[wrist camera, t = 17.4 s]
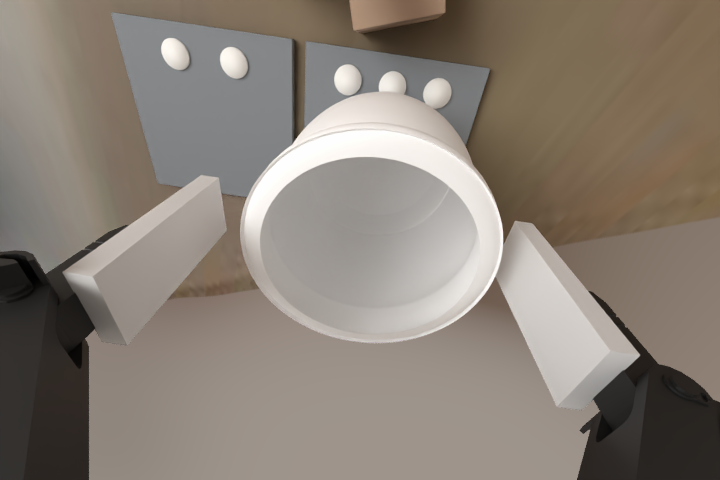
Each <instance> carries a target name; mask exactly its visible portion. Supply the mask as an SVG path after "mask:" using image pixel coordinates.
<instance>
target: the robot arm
mask: <svg viewBox="0 0 720 480" xmlns="http://www.w3.org/2000/svg"><path fill="white" fill-rule="evenodd" d="M226 231H227V229H226V222H225V216H224V209H223V202H222V196H221V189H220V183H219V178H218V177H211V176H204V175H201V176H199V177H198V178H196V179H195V180H194V181H192V182H191V183H189V184H188V185H186V186H185V187H184V188H182V189H181V190H179V191H178V192H176V193H175V194H173V195H172V196H171V197H169V198H168V199H166V200H165V201H163V202H162V203H161V204H159V205H158V206H156V207H155V208H153V209H152V210H151V211H149V212H148V213H146V214H145V215H143V216H142V217H141V218H139V219H138V220H136V221H135V222H133V223H132V224H130V225H125V226H123V227H120V228H117V229H115V230H112V231H110V232H108V233H107V234H105V235H104V236H102V237H101V238H99V239H98V240H96V242H95V243H92V244H90V245H89V246H87V247H86V248H85V250H81V251H80V252H78V253H77V254H75V255H74V256H72V257H71V258H69V259H68V260H66V261H65V262H63V263H62V264H60V265H59V266H57V267H56V268H54V269H53V270H51V271H50V272H48V273H47V274H45V273H44V271H43V270H42V268H41V267H40V265H39V263H38V262H37V260H36V259H35V257H34V255H33V254H31V253H29V252H26V251H7V252H0V480H89V346H88V344H87V341H86V340H85V338H86V337H87V336H88V335H89V334H90V333H91V332H92V331H93V330H94V329H95V330H96V332H97V334H98V336H99V337H100V339H101V341H102V342H106V343H113V344H120V345H128V344H129V343H130V342H131V341H132V340H133V338H134V337H135V336H136V335H137V334H138V333H139V332H140V330H141V329H142V328H143V327H144V326H145V325H146V323H147V322H148V321H149V320H150V319H151V318H152V317H153V315H154V314H155V313H156V312H157V311H158V309H159V308H160V307H161V306H162V305H163V304H164V303H165V302H166V300H167V299H168V298H169V297H170V296H171V295H172V293H173V292H174V291H175V290H176V289H177V288H178V286H179V285H180V284H181V283H182V282H183V281H184V280H185V278H186V277H187V276H188V275H189V274H190V273H191V271H192V270H193V269H194V268H195V267H196V266H197V265H198V263H199V262H200V261H201V260H202V259H203V258H204V256H205V255H206V254H207V253H208V252H209V251H210V249H211V248H212V247H213V246H214V245H215V244H216V243H217V241H218V240H219V239H220V238H221V237H222V236H223V234H224V233H225V232H226ZM495 277H496V279H497V280H498V283H499V285H500V287H501V289H502V292H503V294H504V296H505V298H506V300H507V302H508V304H509V306H510V309H511V311H512V313H513V315H514V317H515V319H516V321H517V323H518V326H519V328H520V330H521V332H522V334H523V336H524V338H525V340H526V342H527V345H528V347H529V348H530V351H531V353H532V355H533V357H534V360H535V362H536V364H537V366H538V368H539V370H540V372H541V374H542V376H543V378H544V381H545V383H546V385H547V387H548V389H549V391H550V393H551V395H552V397H553V400H554V402H555V404H556V406H557V407H561V408H568V409H575V410H582V409H584V408H585V407H586V406H587V405H588V404H589V403H590V402H591V401H592V400H594V401H595V403H596V405H597V406H598V408H599V410H600V412H599V413H598V414H596V415H595V416H594V417H593V418H592V419H591V420H590V421H589V422H587V423H586V424H585V425H584V426H583V427H582V428H581V430H580V431H581V432H582V433H583V434H584V433H585V432H586V431H587V430H590V434H589V437H588V441H587V445H586V448H585V452H584V456H583V459H582V463H581V467H580V471H579V474H578V478H577V480H720V402H718V401H715V400H713V399H712V398H711V397H710V395H709V394H708V393H707V392H706V391H705V389H703V388H702V387H701V386H700V385H699V384H698V383H696V382H695V381H694V380H693V379H691V378H690V377H688V376H686V375H685V374H683V373H682V372H680V371H677V370H675V369H673V368H671V367H668V366H664V365H659V364H658V363H657V362H656V361H655V360H654V359H653V357H652V356H651V355H650V354H649V353H648V352H647V350H646V349H645V348H644V347H643V346H642V344H641V343H640V342H639V341H638V340H637V339H636V337H635V336H634V335H633V334H632V333H631V332H630V331H629V329H628V328H626V327H625V325H624V323H623V322H622V321H621V320H620V319H619V318H618V317H616V314H615V313H614V312H613V311H612V309H611V308H610V307H609V306H608V305H607V304H606V302H604V301H603V300H602V299H600V298H599V297H598V296H596V295H595V294H594V293H593V292H590V291H587V289H586V288H585V287H584V286H583V284H582V283H581V282H580V281H579V280H578V278H577V277H576V276H575V275H574V274H573V272H572V271H571V270H570V269H569V267H568V266H567V265H566V264H565V263H564V261H563V260H562V259H561V258H560V257H559V255H558V254H557V253H556V252H555V250H554V249H553V248H552V247H551V245H550V244H549V243H548V242H547V241H546V239H545V238H544V237H543V236H542V234H541V233H540V232H539V231H538V230H537V228H536V227H535V226H534V225H533V223H527V222H520V221H515V222H514V224H513V226H512V228H511V230H510V233H509V235H508V237H507V239H506V241H505V243H504V245H503V251H502V257H501V261H500V265H499V268H498V271H497V273H496V276H495Z"/></svg>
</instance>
